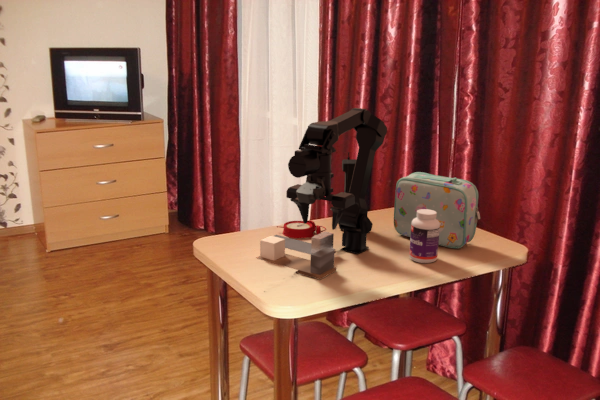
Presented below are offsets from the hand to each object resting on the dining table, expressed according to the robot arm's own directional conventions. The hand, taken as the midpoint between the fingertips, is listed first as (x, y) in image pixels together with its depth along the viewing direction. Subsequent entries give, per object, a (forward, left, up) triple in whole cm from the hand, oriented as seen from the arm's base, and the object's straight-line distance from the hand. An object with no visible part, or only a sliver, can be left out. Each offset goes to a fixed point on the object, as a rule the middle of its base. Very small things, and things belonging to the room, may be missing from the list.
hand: (319, 226), depth 173 cm
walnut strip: (+5, +4, -12) cm, 13 cm away
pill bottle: (-21, -23, -12) cm, 33 cm away
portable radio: (+11, -35, -12) cm, 39 cm away
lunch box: (-16, -41, -12) cm, 46 cm away
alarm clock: (+19, -19, -12) cm, 29 cm away
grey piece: (+13, -8, -12) cm, 19 cm away
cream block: (+13, +4, -11) cm, 17 cm away
